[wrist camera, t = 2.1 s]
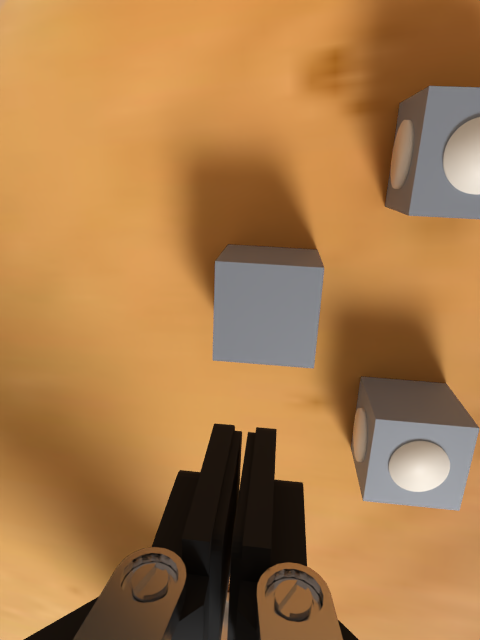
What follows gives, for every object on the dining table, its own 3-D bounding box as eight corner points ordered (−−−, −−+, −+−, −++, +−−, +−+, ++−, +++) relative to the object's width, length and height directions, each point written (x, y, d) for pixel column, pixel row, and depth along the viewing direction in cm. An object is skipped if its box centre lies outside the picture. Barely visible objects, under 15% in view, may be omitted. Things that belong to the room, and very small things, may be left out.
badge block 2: (430, 454, 34) (460, 512, 28) (347, 446, 35) (359, 502, 29) (445, 382, 32) (480, 429, 27) (357, 375, 33) (372, 420, 27)
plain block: (309, 333, 32) (313, 368, 26) (225, 327, 33) (212, 360, 27) (317, 249, 30) (324, 267, 25) (228, 244, 31) (215, 261, 25)
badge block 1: (481, 211, 28) (531, 222, 23) (380, 206, 29) (404, 215, 23) (503, 107, 27) (564, 89, 21) (395, 103, 27) (424, 85, 21)
